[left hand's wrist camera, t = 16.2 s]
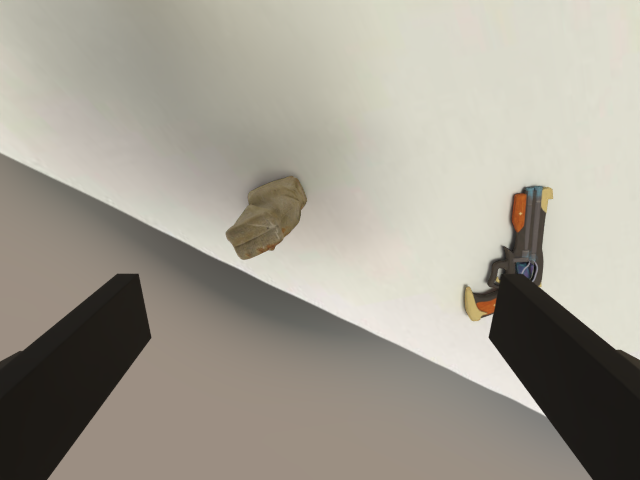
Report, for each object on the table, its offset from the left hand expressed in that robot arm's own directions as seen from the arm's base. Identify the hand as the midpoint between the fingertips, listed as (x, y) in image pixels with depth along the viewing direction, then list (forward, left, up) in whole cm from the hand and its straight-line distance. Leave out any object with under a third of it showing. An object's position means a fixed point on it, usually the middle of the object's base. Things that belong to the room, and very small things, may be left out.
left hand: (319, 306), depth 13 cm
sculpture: (-3, -6, -34) cm, 35 cm away
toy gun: (+28, +1, -34) cm, 44 cm away
